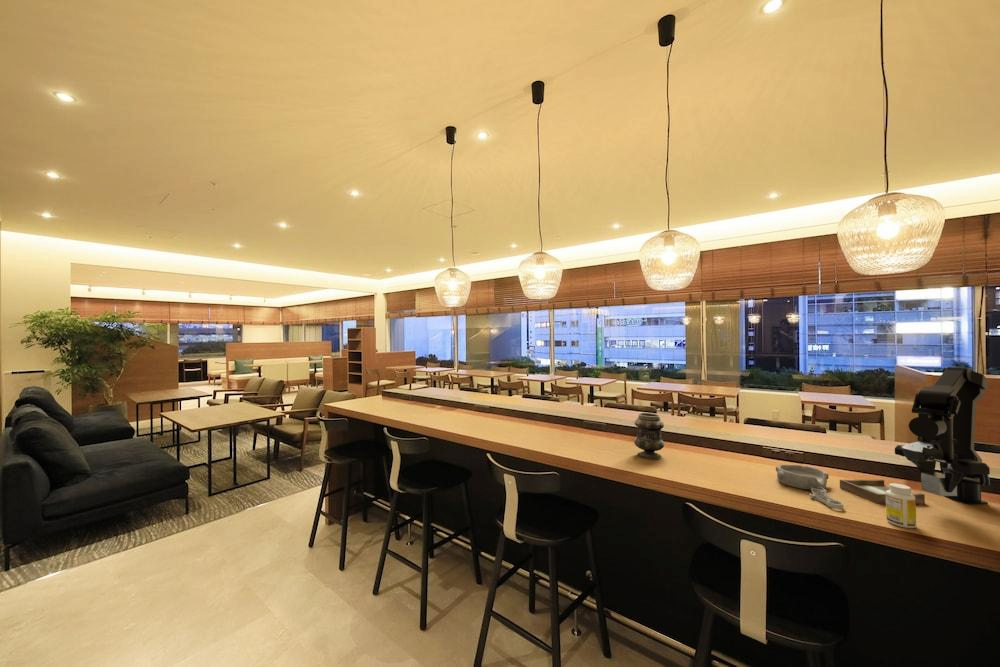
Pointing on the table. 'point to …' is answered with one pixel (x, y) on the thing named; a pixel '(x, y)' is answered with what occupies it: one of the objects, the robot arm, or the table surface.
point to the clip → (935, 484)
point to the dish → (801, 476)
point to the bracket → (825, 498)
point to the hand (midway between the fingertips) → (938, 488)
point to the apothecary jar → (649, 435)
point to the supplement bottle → (901, 506)
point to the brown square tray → (873, 490)
